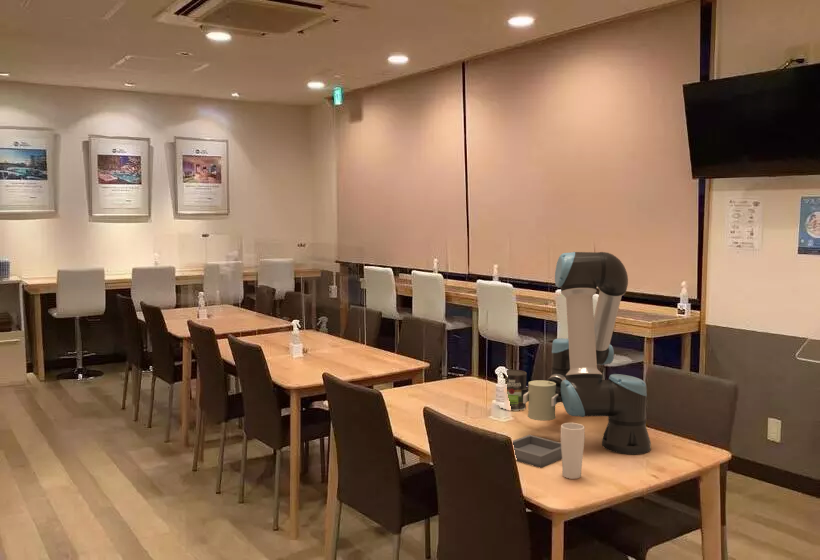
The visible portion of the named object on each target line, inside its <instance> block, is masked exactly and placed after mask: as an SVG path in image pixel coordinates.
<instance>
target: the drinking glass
mask: <svg viewBox="0 0 820 560" xmlns="http://www.w3.org/2000/svg"><path fill="white" fill-rule="evenodd" d="M585 428H586V427H585V426H584V424H581V423H576V422H564V423H562V424H561V425H560V443H561V453H562V459H561V464H562V465H561V466H562V467H561V468H562V471H561V472H562V473H561V474H562V477H564V478H565V477H566V479H568V478H569V479H570V480H578V479H580V478H581V477H582V466H583V457H584V449H585V438H586V437H585V436H586V434H585V433H586V432H585ZM569 479H568V480H569Z"/></svg>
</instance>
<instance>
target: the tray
mask: <svg viewBox="0 0 820 560" xmlns="http://www.w3.org/2000/svg"><path fill="white" fill-rule="evenodd" d="M512 441H513V445H514V450H515V455H516V458H517V461H516V462H519V463H522V462H523V463H522V464H526V465H529V466H532V465H533V467H536V468H539V467H540V469H542V468H544V467H546V466H548V465H551V464H554V463H556V462H558V461H560V460H561V461H562V453H561V442H559V441H555V440H551V439H548V438H545V437H544V438H543V437H541V436H536V435H533V434H527V435H525V436H523V437H519V438H516V439H513V440H512Z"/></svg>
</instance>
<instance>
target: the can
mask: <svg viewBox="0 0 820 560" xmlns="http://www.w3.org/2000/svg"><path fill="white" fill-rule="evenodd" d="M527 385H528V387H529V401H528V402H527V403H528V406H527V408H528V410H527V411H528V413H527V417H528V419H531V420H534V421H540V422H541V421H553V420H555V419H556V418H557V417H556V405H555V406H551V398H552V397H553V396H554V395H555V393H556V383H555V382H552V381H546V380H542V379H541V380H540V379H539V380H537V379H536V380H531V381H528V384H527Z"/></svg>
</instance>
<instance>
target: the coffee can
mask: <svg viewBox="0 0 820 560" xmlns="http://www.w3.org/2000/svg"><path fill="white" fill-rule="evenodd" d="M506 370H507V375H508V379H507V394H508V398H509V401H510V406H511V410H514V411H513V412H520V411H519V410H522V411H525V410H526V405H527V403H523V397H521V390H522V389H525V388H527V374H528V373H527V372H526V371H524V370H521V369H520V370H519V369H506ZM524 409H525V410H524Z"/></svg>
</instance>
